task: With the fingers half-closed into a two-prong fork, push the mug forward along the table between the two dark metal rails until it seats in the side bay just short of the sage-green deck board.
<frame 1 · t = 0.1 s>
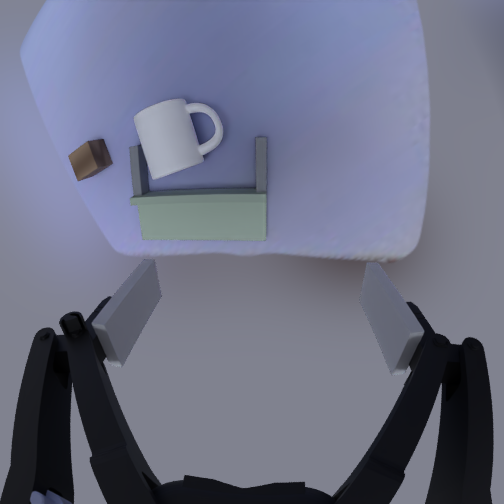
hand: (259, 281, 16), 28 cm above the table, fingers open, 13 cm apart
mug: (189, 134, 39), on the table
deck: (201, 212, 44), on the table
walnut block: (98, 157, 40), on the table
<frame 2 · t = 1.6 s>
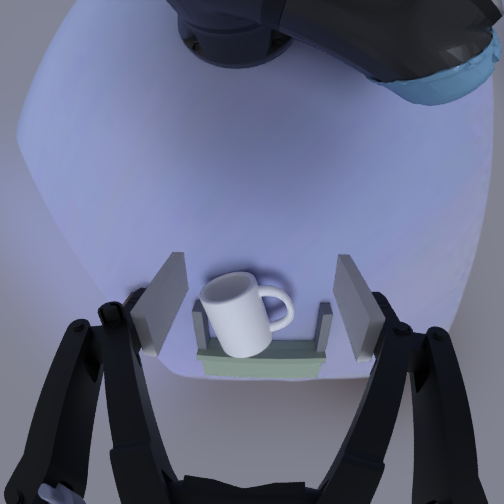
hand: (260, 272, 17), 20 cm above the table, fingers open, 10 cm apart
mug: (252, 296, 42), on the table
deck: (261, 356, 47), on the table
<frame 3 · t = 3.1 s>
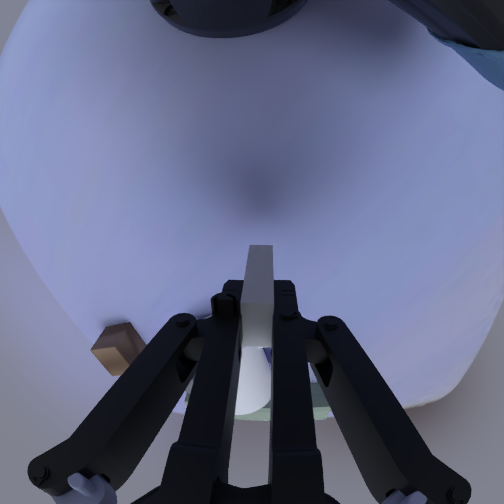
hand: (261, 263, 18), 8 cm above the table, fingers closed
mug: (251, 338, 32), on the table
deck: (262, 398, 37), on the table
walnut block: (127, 337, 34), on the table
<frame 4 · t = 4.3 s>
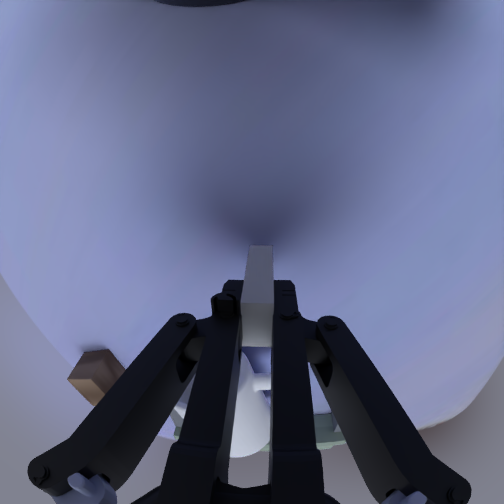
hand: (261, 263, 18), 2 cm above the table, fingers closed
mug: (247, 371, 26), on the table
deck: (260, 428, 31), on the table
walnut block: (107, 364, 28), on the table
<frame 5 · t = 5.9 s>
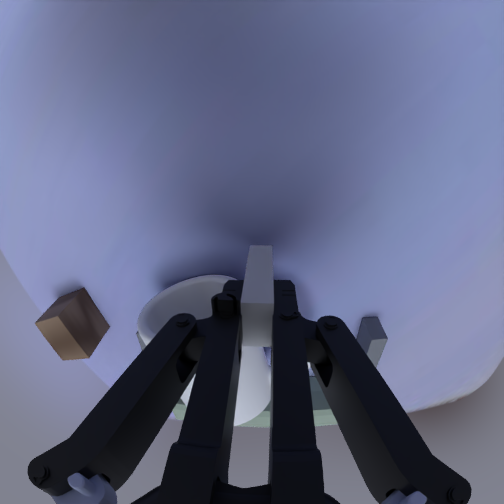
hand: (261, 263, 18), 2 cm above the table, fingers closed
mug: (241, 318, 23), on the table, touching gripper
deck: (261, 397, 28), on the table
walnut block: (83, 311, 25), on the table
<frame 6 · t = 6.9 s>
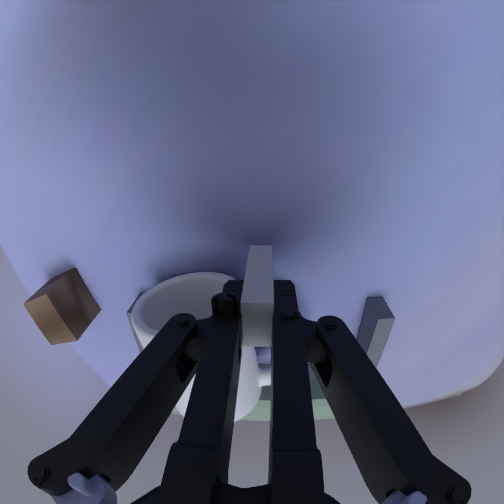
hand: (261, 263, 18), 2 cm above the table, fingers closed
mug: (234, 318, 23), on the table, touching deck, gripper
deck: (259, 388, 27), on the table
walnut block: (74, 293, 23), on the table
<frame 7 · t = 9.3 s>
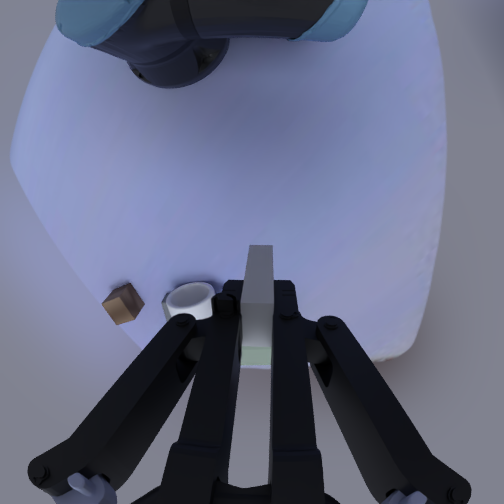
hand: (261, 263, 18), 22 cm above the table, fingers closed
mug: (213, 303, 47), on the table, touching deck
deck: (231, 344, 51), on the table
walnut block: (128, 296, 48), on the table
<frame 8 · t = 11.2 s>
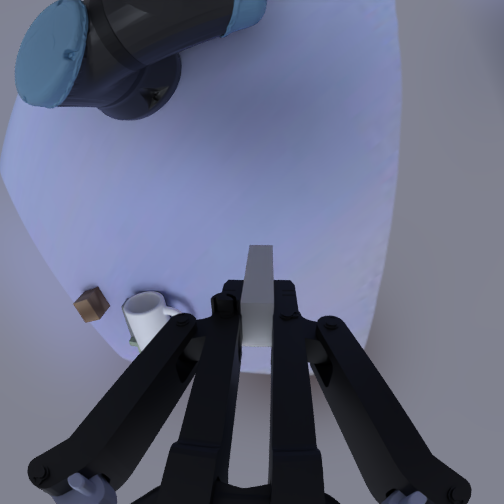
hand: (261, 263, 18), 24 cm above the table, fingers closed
mug: (166, 311, 52), on the table
walnut block: (97, 298, 52), on the table
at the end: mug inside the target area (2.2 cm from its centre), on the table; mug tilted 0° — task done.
